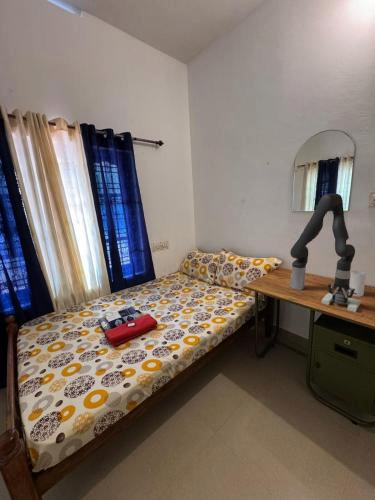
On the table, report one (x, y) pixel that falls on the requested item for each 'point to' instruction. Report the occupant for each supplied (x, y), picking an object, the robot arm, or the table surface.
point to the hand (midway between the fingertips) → (339, 301)
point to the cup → (357, 282)
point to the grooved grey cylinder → (339, 298)
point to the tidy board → (351, 303)
